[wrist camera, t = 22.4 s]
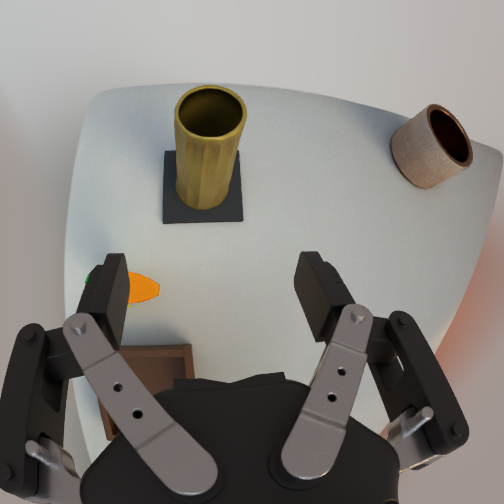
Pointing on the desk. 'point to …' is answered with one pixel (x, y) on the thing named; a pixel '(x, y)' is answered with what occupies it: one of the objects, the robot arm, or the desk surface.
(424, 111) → the planter
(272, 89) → the desk surface
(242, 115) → the vase
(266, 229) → the desk surface
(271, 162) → the desk surface
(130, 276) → the toy figure
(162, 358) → the tray
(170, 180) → the mat
